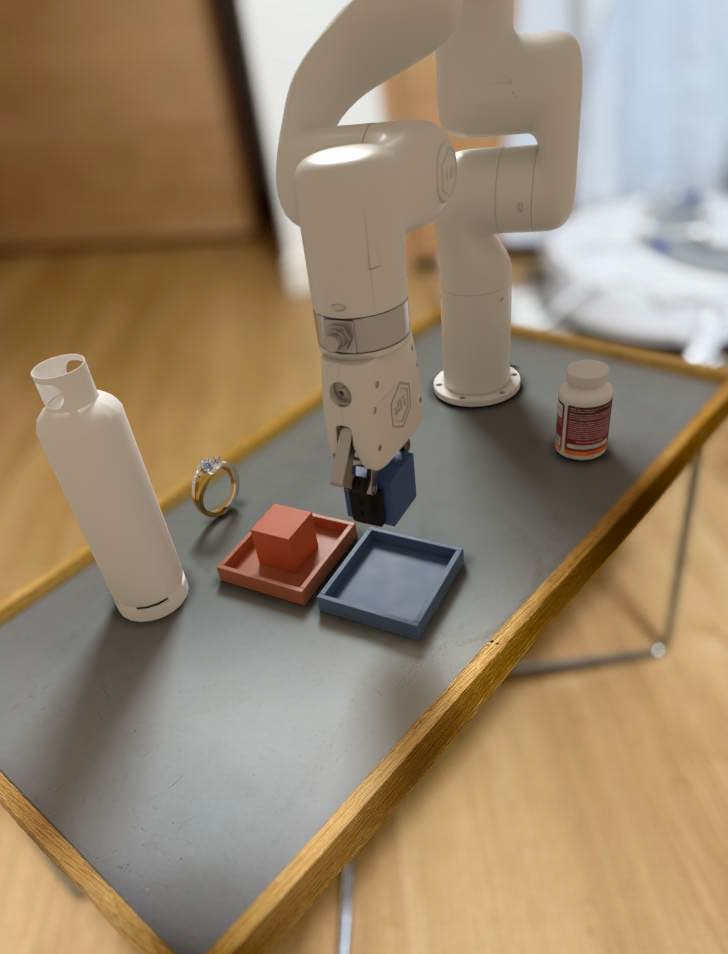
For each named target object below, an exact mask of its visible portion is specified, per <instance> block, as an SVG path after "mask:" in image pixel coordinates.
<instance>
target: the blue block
mask: <svg viewBox="0 0 728 954" xmlns="http://www.w3.org/2000/svg"><path fill="white" fill-rule="evenodd" d="M414 457H415V455H414V453H413V452H410V451H409V452H403V451H398V453H397V454H396V455H395V456H394V457H393V459H392V460H391V461H390V462H389V463H388V464H387V465H386V466H385V467H384V468H382V469H381V470H378V487H377V488H378V489H382V493H383V502H384V511H385V520H386V522H385V524H384V525H386V526H390V527H396V525H397V524H398V523H399V522H400V520H401V519H402V517H403V516H404V515H405V513H406V512H407V511H408V509H409V508H410V507H411V505H412V503H414V501H415V499H416V498H417V484H416V470H415V458H414ZM356 476H360V477H363V478H365V479H367V468H364V467H359V466H356ZM343 492H344V493H343V494H344V498H345V506H346V511H347V516H348V517H351V518H353V517H352V510H351V503H350V496H349V491H348V490H345V488H343Z"/></svg>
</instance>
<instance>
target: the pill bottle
mask: <svg viewBox="0 0 728 954" xmlns="http://www.w3.org/2000/svg"><path fill="white" fill-rule="evenodd" d="M609 375H610V367H609V366H608V364H607V363H605V362H603V361H601V360H597V359H580V360H576V361H573V362H571V363H570V364H568V365H567V367H566V372H565V381H564V382H563V383H562V384H561V385H560V387H559V389H558V395H557V410H556V425H555V437H554V438H555V439H554V447H555V450H556V451H557V453H558V454H560V456H563V457H564V458H567V459H569V460H574V461H590V460H593V459H596V458H598V457H600V456H602V455H603V454H605V452H606V450H607V447H608V442H609V441H608V440H609V431H610V423H611V416H612V407H613V400H614V399H613V398H614V388H613V385H612V384H611V382H609V381H608V380H609V377H610V376H609Z"/></svg>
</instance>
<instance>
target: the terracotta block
mask: <svg viewBox="0 0 728 954" xmlns="http://www.w3.org/2000/svg"><path fill="white" fill-rule="evenodd" d="M312 513H313V512H312V511H308V510H304V509H300V508H296V507H291V506H288V505H287V506H286V505H282V504H279V503H273V504H272V505H271V506H270V508H269V509H268V510H267V511H266V512H265V513H264V514H263V515H262V516H261V517H260V518H259V520H258V521H257V522H256V523H255V524H253V526H252V527H251V528H250V530H249V531H251V534H252V538H253V542H254V545H255V549H256V553H257V556H258V560H259V563H260V564H263V565H266V566H270V567H273V568H277V569H281V570H284V571H288V572H291V573H295V574H297V573H298V571H299V570H300V569H301V568H302V566H303V565H304V564H305V563H306V561H307V560H308V559H309V558H310V556H311V555H312V554H313V553H314V551H315V550H316V549H317V548H318V541H317V536H316V531H315V526H314V521H313V516H312Z"/></svg>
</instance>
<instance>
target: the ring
mask: <svg viewBox="0 0 728 954" xmlns="http://www.w3.org/2000/svg"><path fill="white" fill-rule="evenodd" d="M221 469H222V470H224V471H225V472H226V473H227V475H228V477H229V480H230V492H229V495H228V497H227V499H226V501H225V502H224V503H223V504H222V503H221V504H219V505H218V506H217V508H216V509H214V510H213V509H212V510H207V508H206V507H205V505H204V497H205V493H206V490H207V488H208V486H209V484H210V482H211V480H212V479H213V477H214V475H215V474H217V472H218V471H220V470H221ZM202 474H203V475H206V474H207V475H206V476H205V477H204V478H203V479H202V481H201V482H200V479H201V476H202ZM240 481H241V479H240V475H239V473H238V470H237V468H236V467H235V465H233V464H232V463H231V462H229V461H226V460H223V461H221V455H220V454H218V455H216V458H215V455H211V457H210V456H206V459H204V458H202V459H200V462H199V463H198V464H197V465H196V467H195V471H194V473H193V476H192V480H191V499H192V502H193V505H194V507H195V509H196V510H197V511H198V512H199V513H201V514H202V515H204V516H206V517H208V518H217V517H220V516H222V515H223V516H225V515H227V514H228V513H229V510H230V509H231V508H232V507H233V506H234V504H235V502H236V500H237V497H238V495H239V492H240V484H241V483H240Z"/></svg>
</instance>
